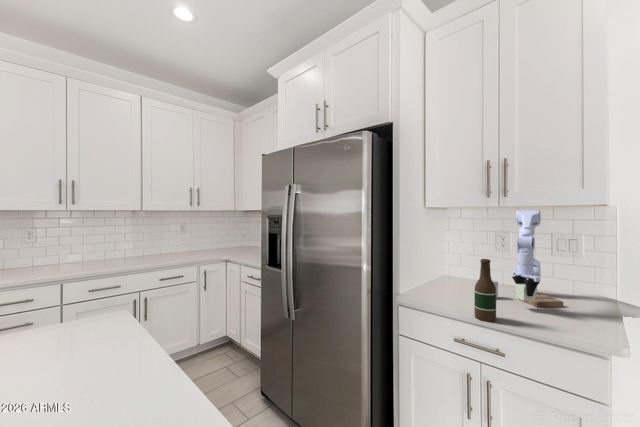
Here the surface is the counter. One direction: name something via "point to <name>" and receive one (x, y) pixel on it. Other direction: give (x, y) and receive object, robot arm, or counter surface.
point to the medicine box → (496, 287)
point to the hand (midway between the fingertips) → (525, 294)
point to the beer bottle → (485, 294)
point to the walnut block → (544, 301)
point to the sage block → (523, 293)
